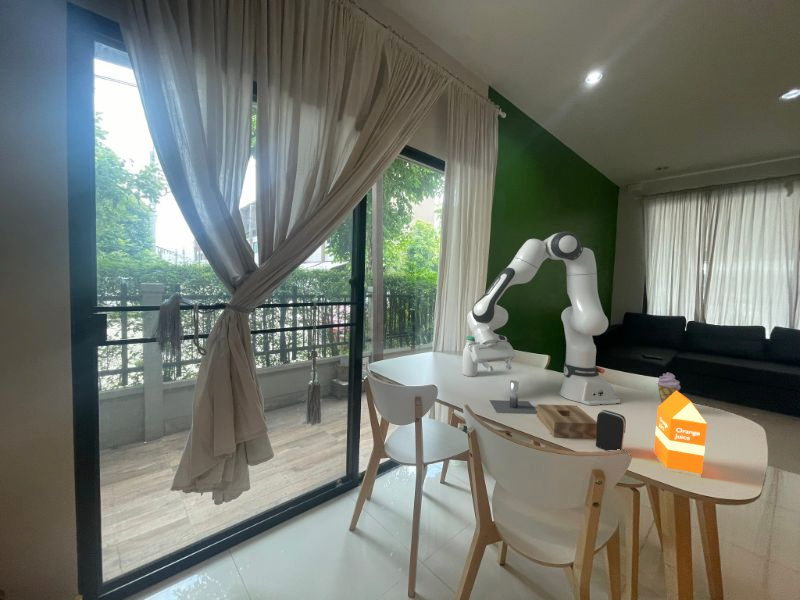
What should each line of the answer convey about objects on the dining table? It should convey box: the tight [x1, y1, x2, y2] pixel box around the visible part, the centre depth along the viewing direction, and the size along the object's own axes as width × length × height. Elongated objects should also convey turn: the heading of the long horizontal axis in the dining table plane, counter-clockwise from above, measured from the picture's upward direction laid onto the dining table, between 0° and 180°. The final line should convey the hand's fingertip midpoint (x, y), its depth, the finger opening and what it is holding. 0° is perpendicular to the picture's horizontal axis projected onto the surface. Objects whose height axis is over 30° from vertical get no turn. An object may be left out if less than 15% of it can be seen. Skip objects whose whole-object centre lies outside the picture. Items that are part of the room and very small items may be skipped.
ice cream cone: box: [657, 372, 681, 404], centre depth 123 cm, size 7×6×15 cm
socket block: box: [536, 403, 597, 439], centre depth 109 cm, size 14×14×5 cm
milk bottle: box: [461, 335, 479, 378], centre depth 164 cm, size 8×8×20 cm
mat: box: [489, 399, 537, 415], centre depth 124 cm, size 16×12×1 cm
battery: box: [595, 409, 627, 451], centre depth 95 cm, size 7×4×11 cm, turn 42°
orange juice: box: [653, 390, 708, 475], centre depth 87 cm, size 8×9×20 cm
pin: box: [509, 380, 520, 408], centre depth 124 cm, size 3×3×10 cm
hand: (500, 369), depth 131 cm, fingers open, 8 cm apart
